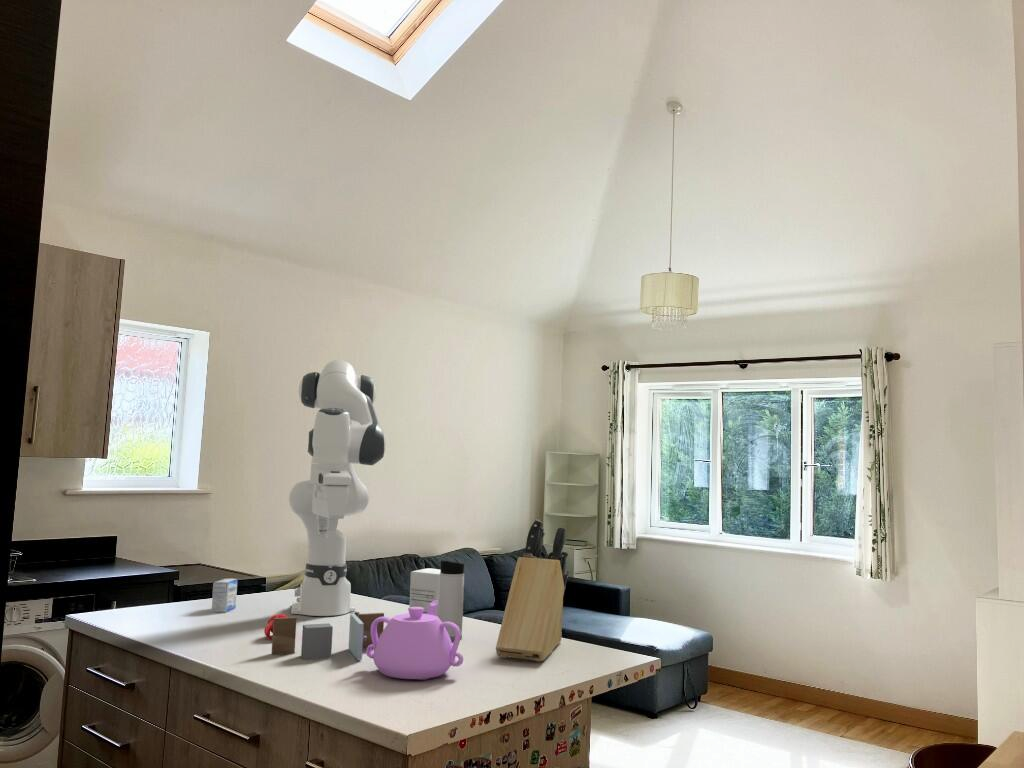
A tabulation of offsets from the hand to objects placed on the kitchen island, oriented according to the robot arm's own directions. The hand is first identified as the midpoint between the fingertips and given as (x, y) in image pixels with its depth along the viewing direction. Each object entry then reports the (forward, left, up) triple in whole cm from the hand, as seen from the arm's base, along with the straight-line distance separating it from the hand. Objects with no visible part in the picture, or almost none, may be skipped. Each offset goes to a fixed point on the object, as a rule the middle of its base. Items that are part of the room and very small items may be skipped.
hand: (326, 536), depth 187 cm
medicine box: (-64, -15, -27) cm, 71 cm away
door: (+2, +8, -27) cm, 28 cm away
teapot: (+19, +17, -27) cm, 38 cm away
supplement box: (-27, +36, -27) cm, 52 cm away
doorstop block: (+1, -1, -27) cm, 27 cm away
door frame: (-5, +2, -27) cm, 28 cm away
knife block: (+7, +52, -27) cm, 59 cm away
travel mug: (-9, +35, -27) cm, 45 cm away
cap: (-21, -6, -27) cm, 35 cm away
